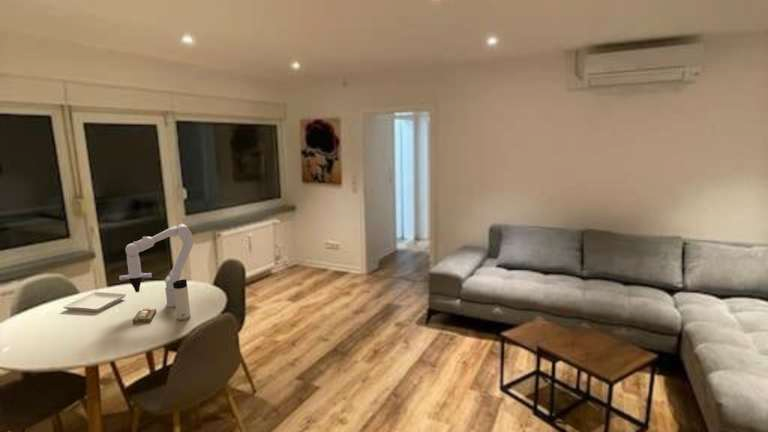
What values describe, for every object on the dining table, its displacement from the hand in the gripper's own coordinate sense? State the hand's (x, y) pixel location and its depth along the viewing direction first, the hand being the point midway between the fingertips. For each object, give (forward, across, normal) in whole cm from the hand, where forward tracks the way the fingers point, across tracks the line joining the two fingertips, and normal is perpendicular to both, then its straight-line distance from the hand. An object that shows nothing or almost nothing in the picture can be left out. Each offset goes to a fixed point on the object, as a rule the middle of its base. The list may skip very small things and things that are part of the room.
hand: (137, 291), depth 224 cm
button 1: (+9, -5, +16) cm, 19 cm away
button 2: (+9, -5, +8) cm, 13 cm away
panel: (+10, -5, +12) cm, 17 cm away
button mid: (+9, -5, +12) cm, 16 cm away
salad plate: (+11, +25, -16) cm, 32 cm away
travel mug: (+11, -24, +18) cm, 32 cm away
